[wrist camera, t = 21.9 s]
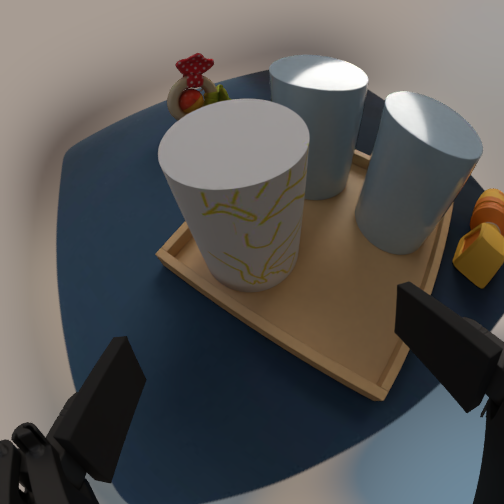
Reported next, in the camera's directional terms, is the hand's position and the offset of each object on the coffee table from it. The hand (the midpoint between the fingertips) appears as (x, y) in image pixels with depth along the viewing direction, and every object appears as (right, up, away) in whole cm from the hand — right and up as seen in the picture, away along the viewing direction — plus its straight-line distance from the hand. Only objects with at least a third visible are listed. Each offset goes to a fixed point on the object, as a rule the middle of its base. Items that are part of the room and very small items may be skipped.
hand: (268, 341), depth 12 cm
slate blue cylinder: (+6, +12, +16) cm, 21 cm away
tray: (+6, +6, +13) cm, 15 cm away
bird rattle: (-7, +23, +24) cm, 34 cm away
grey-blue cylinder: (+13, +7, +12) cm, 19 cm away
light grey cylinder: (-1, +4, +12) cm, 13 cm away
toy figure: (+25, +5, +11) cm, 28 cm away
